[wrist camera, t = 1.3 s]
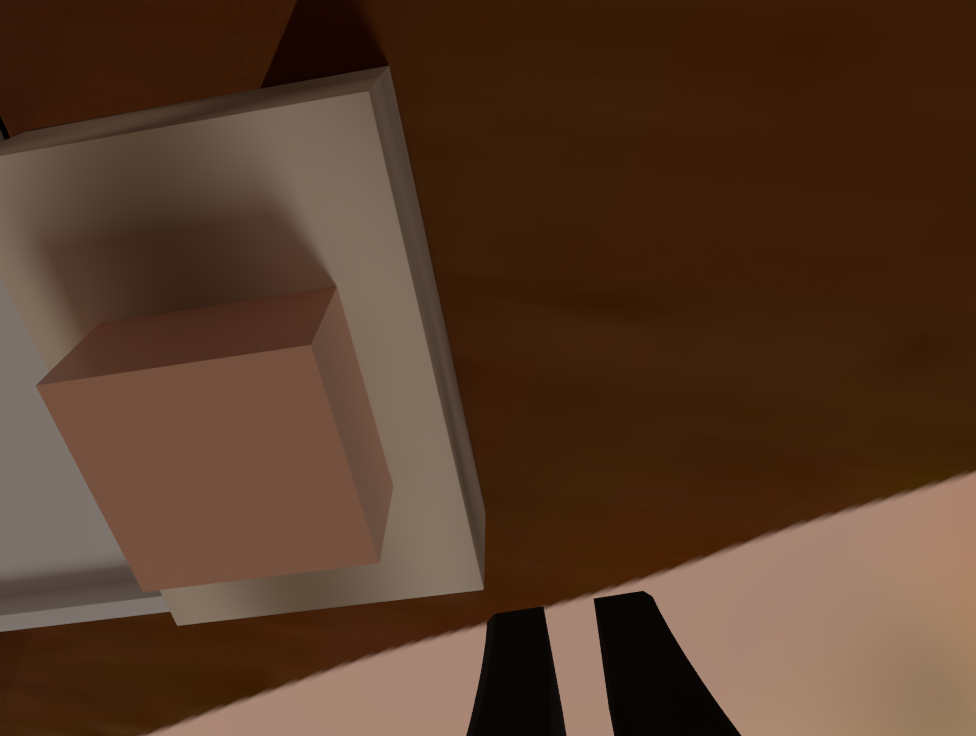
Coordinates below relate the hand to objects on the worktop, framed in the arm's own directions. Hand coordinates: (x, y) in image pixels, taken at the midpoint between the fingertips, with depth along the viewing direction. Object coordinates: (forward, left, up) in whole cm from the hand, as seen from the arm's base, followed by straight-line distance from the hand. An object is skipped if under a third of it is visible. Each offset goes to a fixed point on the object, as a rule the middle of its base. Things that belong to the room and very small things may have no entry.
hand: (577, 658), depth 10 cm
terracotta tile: (+6, 0, -7) cm, 10 cm away
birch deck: (+6, 0, -10) cm, 12 cm away
